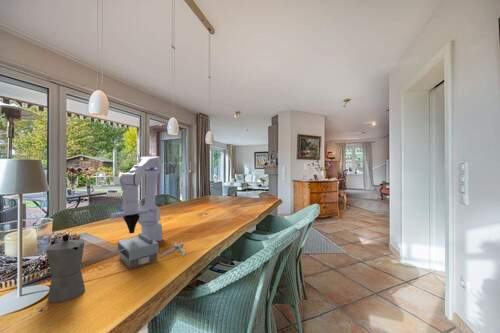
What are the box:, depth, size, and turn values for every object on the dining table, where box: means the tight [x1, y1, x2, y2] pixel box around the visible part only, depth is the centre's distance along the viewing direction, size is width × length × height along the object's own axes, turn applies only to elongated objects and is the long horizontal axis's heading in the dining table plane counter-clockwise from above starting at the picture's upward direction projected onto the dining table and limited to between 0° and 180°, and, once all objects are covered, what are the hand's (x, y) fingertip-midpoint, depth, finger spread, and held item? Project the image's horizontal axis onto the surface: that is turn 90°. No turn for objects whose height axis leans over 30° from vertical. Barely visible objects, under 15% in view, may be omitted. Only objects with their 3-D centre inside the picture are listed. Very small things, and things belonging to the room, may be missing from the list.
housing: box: [118, 249, 158, 270], centre depth 92 cm, size 10×15×3 cm, turn 45°
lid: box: [117, 232, 160, 261], centre depth 92 cm, size 11×16×5 cm
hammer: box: [160, 241, 186, 259], centre depth 101 cm, size 10×2×15 cm
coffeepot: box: [45, 234, 86, 304], centre depth 68 cm, size 15×9×18 cm, turn 62°
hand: (131, 232), depth 95 cm, fingers closed
